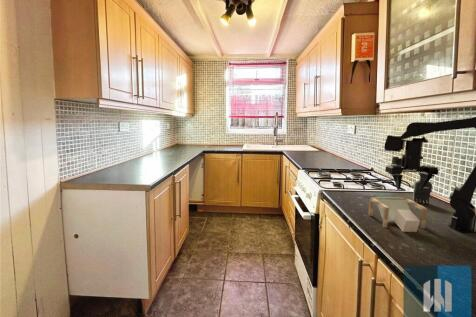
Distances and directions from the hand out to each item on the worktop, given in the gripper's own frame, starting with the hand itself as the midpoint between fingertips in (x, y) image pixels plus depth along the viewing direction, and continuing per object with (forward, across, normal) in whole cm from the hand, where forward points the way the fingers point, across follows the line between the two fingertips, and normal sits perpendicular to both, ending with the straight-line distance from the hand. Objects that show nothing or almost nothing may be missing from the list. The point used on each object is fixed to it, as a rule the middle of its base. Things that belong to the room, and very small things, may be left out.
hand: (409, 190), depth 114 cm
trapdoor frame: (+12, +8, +6) cm, 15 cm away
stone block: (+8, +8, +9) cm, 14 cm away
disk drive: (+12, -2, -18) cm, 22 cm away
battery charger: (+12, -18, -19) cm, 29 cm away
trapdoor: (+8, +8, +4) cm, 12 cm away
